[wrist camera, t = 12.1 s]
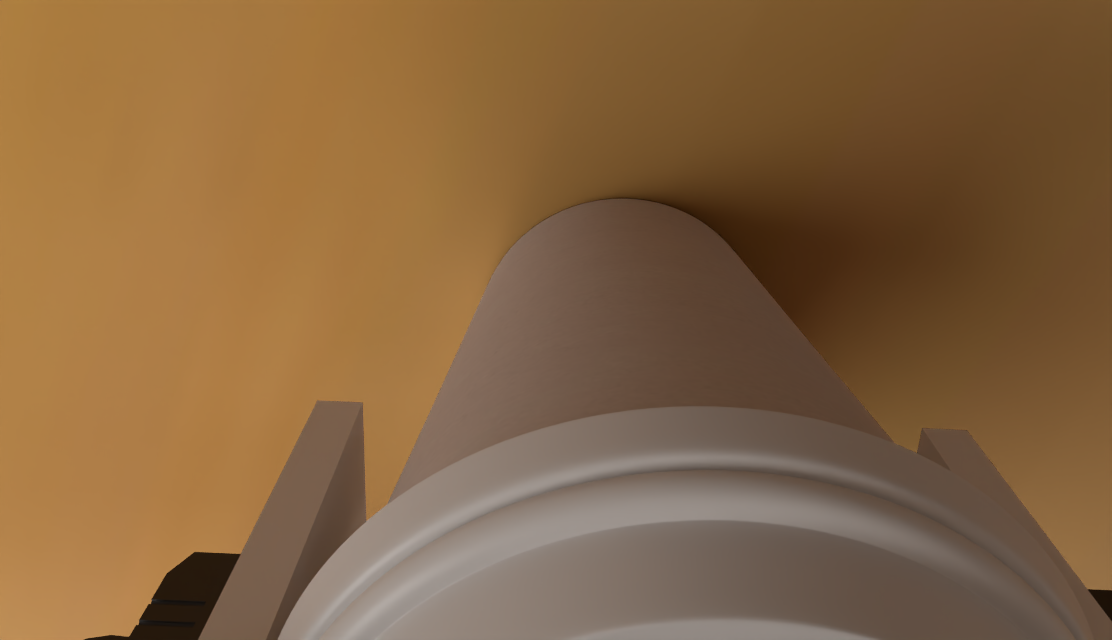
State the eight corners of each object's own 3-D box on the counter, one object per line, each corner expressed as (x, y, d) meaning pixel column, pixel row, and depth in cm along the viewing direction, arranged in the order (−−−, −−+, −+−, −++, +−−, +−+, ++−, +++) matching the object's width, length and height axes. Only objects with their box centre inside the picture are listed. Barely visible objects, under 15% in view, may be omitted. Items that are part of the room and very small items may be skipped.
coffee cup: (750, 542, 26) (970, 1296, 12) (379, 462, 25) (148, 1171, 11) (887, 187, 22) (1434, 668, 8) (460, 79, 21) (268, 412, 7)
